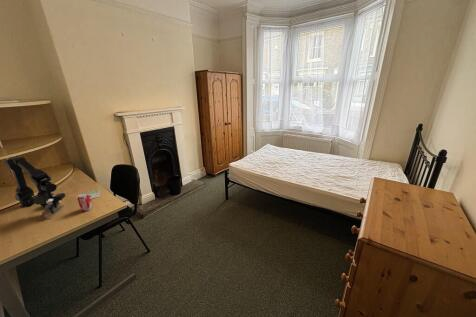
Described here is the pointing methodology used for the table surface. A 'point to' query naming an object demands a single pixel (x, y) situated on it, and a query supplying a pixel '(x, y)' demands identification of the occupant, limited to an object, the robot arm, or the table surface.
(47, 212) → the notched board
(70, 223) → the table surface
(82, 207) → the soda can
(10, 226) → the table surface
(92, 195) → the handheld gaming console
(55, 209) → the gray rectangular block
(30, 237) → the table surface
